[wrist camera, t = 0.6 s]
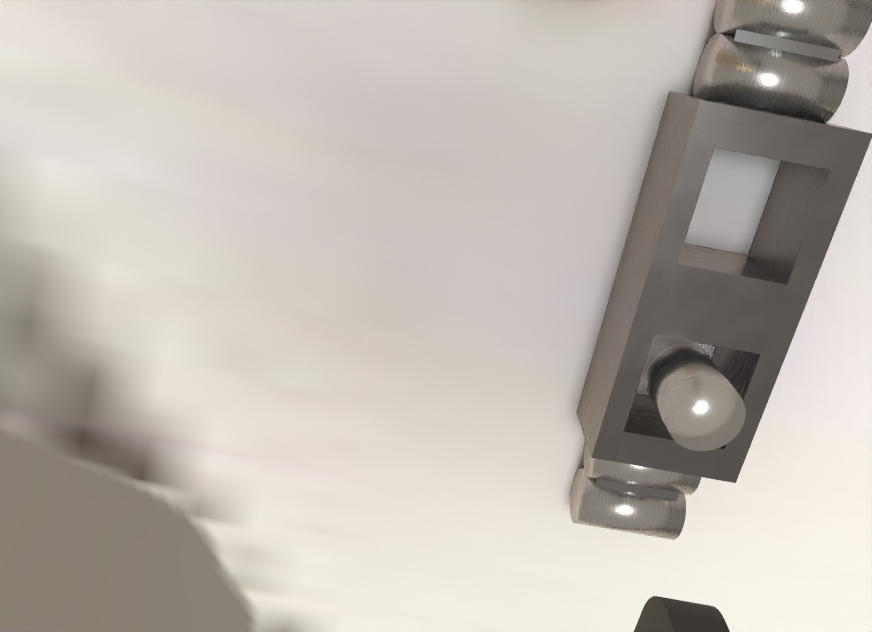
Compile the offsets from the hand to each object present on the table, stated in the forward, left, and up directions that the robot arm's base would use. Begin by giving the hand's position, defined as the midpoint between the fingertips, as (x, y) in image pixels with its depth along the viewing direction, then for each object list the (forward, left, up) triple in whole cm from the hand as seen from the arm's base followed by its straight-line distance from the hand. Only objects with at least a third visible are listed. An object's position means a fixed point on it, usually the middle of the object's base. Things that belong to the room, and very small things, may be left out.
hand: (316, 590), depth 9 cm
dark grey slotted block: (+1, +13, -24) cm, 27 cm away
